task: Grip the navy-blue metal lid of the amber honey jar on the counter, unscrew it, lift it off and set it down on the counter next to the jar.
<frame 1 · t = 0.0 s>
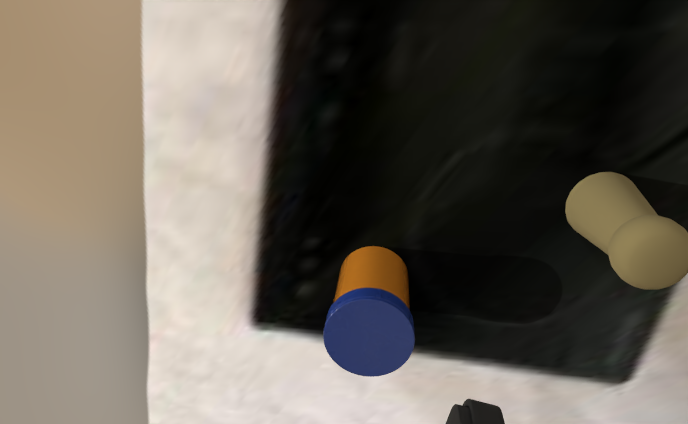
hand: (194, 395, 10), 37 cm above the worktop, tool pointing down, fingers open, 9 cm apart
lid: (368, 336, 41), point 10 cm above the worktop, screwed on, not yet turned
cork: (601, 204, 46), on the worktop
jar: (373, 277, 50), on the worktop
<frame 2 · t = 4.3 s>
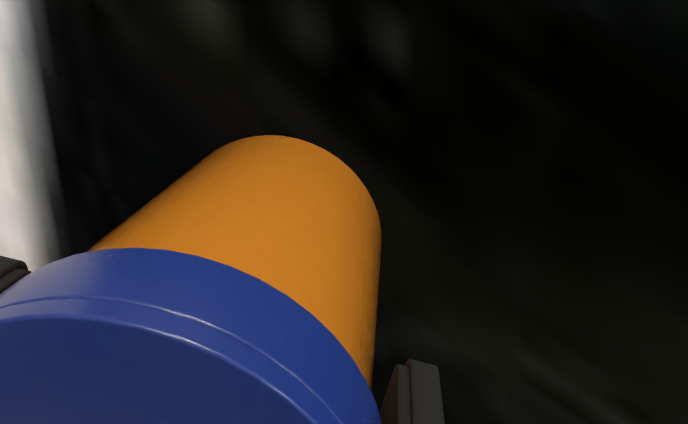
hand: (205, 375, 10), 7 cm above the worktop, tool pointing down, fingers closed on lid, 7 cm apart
jar: (277, 237, 16), on the worktop
when the fingers open (6 cm above the worktop, at t = 6.8 s): lid stays where it is, point 10 cm above the worktop.
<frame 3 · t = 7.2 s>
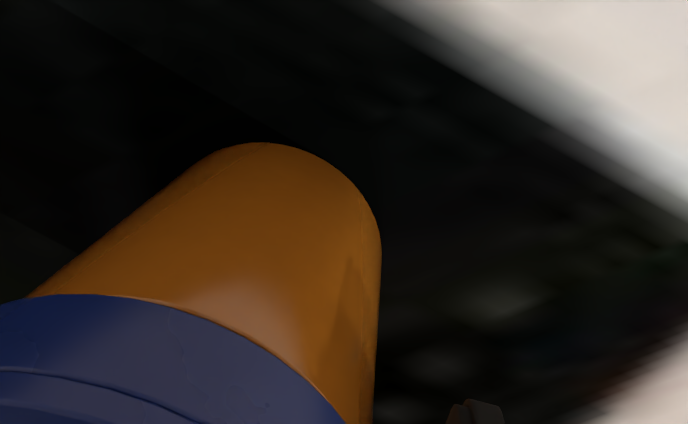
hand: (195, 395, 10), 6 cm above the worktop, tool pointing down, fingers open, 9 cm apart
jar: (269, 251, 15), on the worktop
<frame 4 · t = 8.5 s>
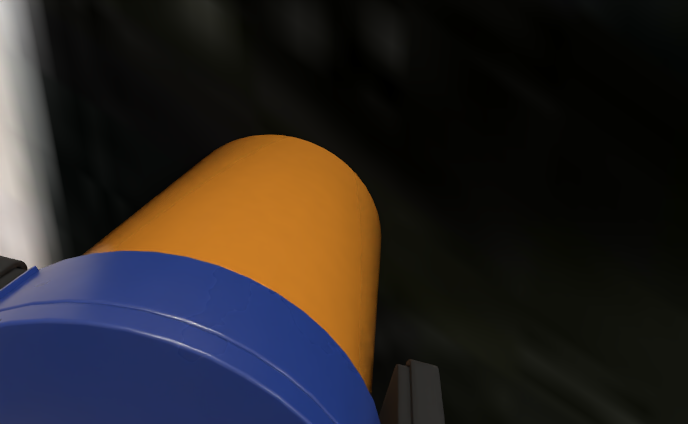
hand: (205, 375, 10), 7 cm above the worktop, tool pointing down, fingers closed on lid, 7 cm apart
jar: (277, 236, 16), on the worktop
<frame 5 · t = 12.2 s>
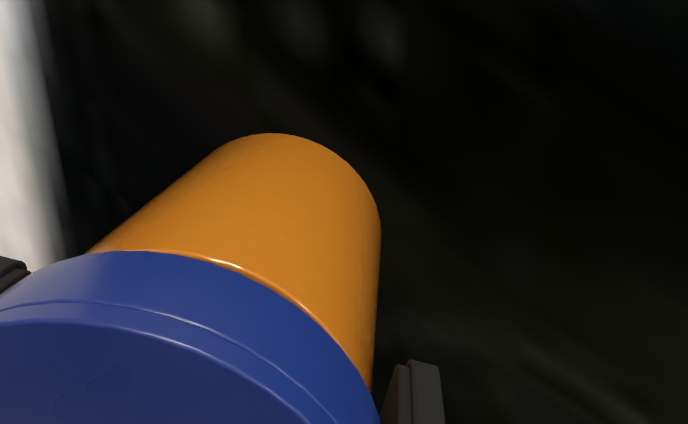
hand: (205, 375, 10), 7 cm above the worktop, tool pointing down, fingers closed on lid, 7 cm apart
jar: (278, 233, 17), on the worktop
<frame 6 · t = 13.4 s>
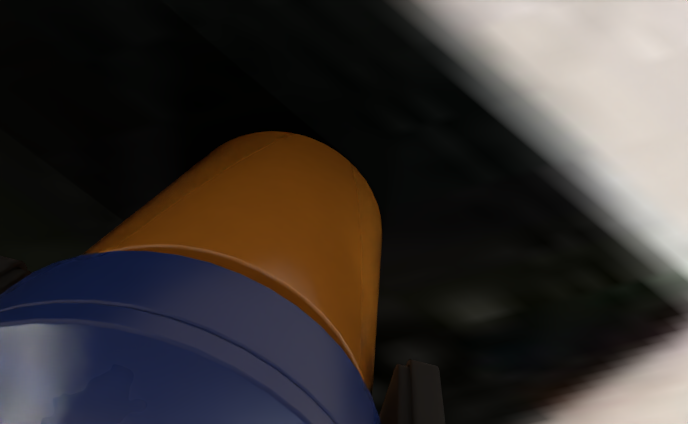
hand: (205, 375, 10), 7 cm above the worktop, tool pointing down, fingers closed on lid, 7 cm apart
jar: (280, 231, 17), on the worktop
when the fingers open (0 cm above the worktop, at t = 20.7 s): lid stays where it is, point 1 cm above the worktop.
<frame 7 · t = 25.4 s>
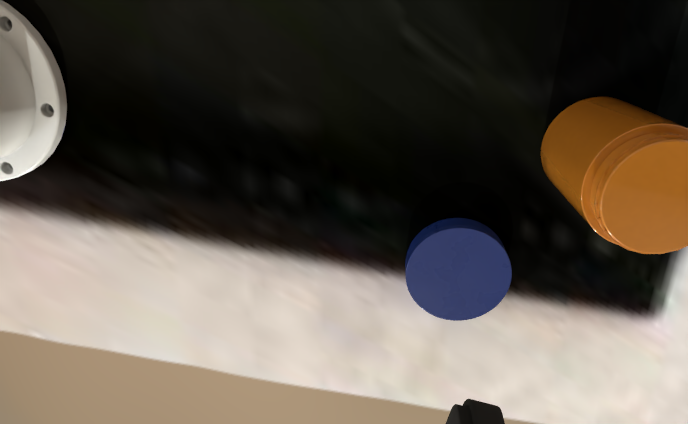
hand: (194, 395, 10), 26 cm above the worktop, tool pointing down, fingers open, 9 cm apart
lid: (457, 273, 36), point 1 cm above the worktop, off its thread
jar: (593, 148, 33), on the worktop
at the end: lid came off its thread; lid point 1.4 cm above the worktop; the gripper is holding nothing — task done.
